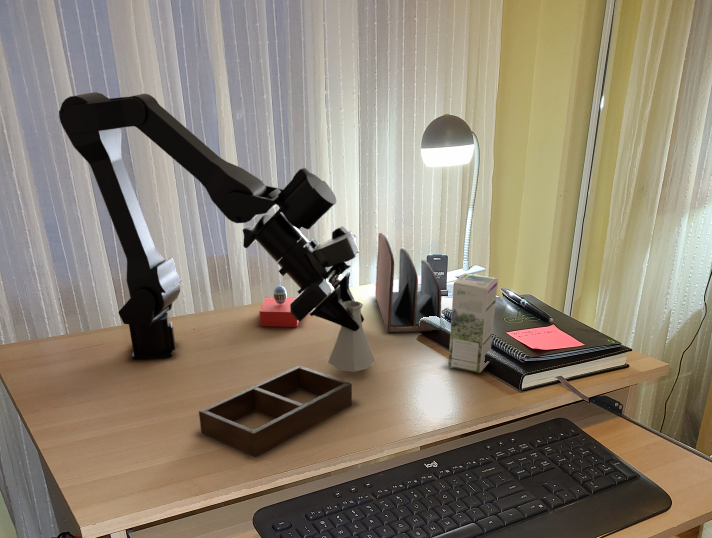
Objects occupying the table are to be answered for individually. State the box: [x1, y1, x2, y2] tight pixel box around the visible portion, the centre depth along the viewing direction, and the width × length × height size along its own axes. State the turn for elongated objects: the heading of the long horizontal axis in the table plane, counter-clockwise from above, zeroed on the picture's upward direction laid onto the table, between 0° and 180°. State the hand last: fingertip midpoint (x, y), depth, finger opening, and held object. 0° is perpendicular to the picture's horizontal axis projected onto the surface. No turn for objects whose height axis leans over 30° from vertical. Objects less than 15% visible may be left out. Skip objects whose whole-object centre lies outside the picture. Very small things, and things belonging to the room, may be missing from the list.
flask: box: [327, 300, 376, 372], centre depth 123 cm, size 7×7×10 cm
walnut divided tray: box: [198, 365, 353, 458], centre depth 110 cm, size 11×20×4 cm, turn 143°
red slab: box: [259, 285, 300, 328], centre depth 144 cm, size 8×7×6 cm
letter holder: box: [374, 232, 442, 334], centre depth 145 cm, size 10×20×14 cm, turn 7°
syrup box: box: [447, 273, 499, 374], centre depth 125 cm, size 6×6×14 cm
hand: (360, 325), depth 122 cm, fingers closed on flask, 3 cm apart
